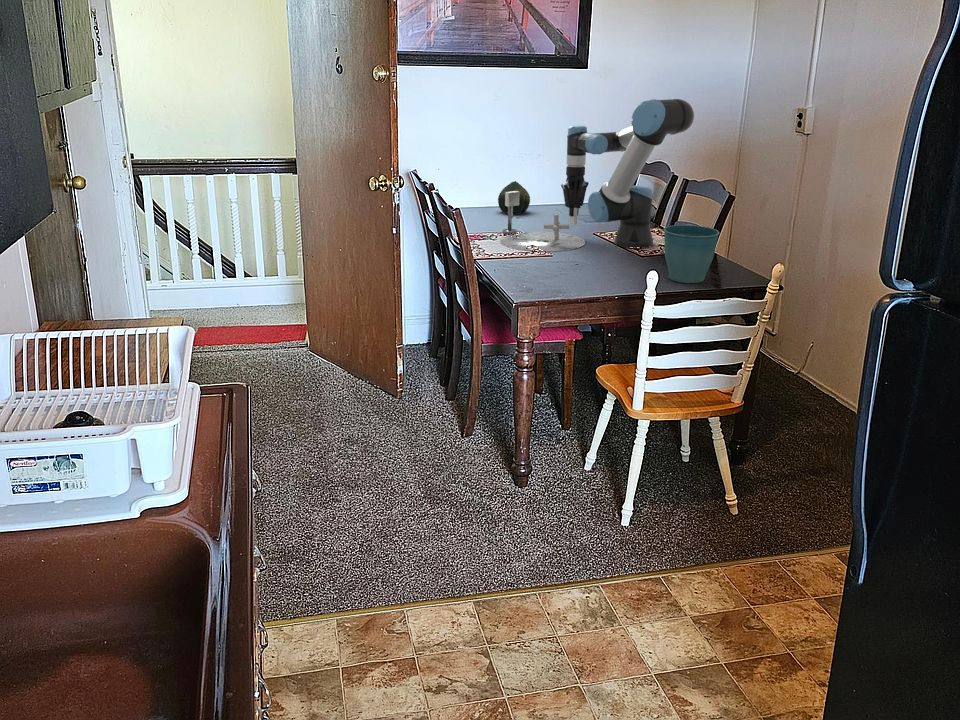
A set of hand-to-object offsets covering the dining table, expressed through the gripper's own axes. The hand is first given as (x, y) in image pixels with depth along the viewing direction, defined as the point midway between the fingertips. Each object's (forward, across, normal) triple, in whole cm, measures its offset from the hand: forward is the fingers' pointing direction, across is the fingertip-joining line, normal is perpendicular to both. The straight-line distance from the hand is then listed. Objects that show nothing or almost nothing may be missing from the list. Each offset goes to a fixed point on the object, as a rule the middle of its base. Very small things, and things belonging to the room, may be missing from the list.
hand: (573, 223), depth 351 cm
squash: (+6, -11, -55) cm, 56 cm away
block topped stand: (+5, +17, -21) cm, 27 cm away
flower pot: (+6, +11, +72) cm, 73 cm away
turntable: (+5, +16, 0) cm, 17 cm away
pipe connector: (+5, +9, 0) cm, 10 cm away
